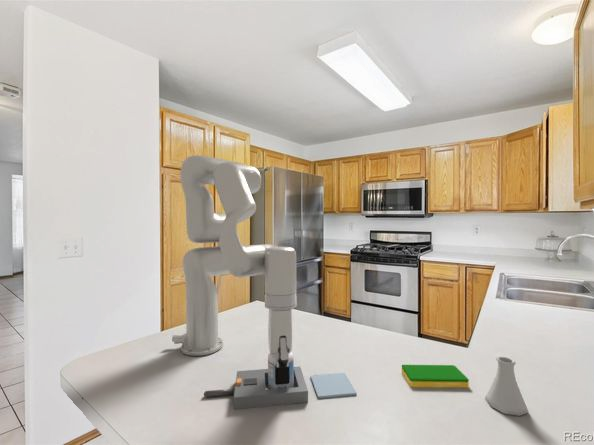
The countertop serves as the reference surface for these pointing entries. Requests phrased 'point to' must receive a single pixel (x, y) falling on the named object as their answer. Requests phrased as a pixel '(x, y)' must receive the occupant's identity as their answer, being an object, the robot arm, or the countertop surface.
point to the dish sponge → (434, 376)
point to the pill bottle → (272, 372)
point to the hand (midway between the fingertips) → (280, 374)
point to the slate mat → (332, 385)
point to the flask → (506, 390)
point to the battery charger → (263, 390)
